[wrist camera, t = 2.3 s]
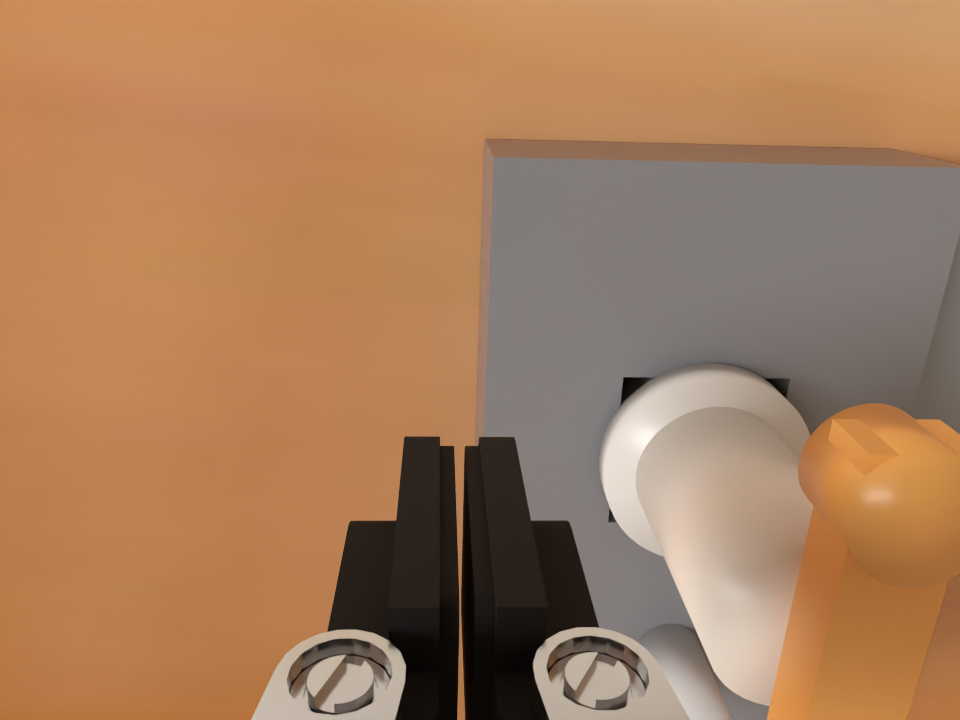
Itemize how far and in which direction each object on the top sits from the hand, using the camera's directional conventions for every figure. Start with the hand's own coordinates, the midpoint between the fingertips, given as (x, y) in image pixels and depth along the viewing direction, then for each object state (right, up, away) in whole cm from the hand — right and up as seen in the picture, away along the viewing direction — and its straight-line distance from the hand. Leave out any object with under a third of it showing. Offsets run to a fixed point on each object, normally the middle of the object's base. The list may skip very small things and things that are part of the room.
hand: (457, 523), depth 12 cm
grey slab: (+6, -1, +15) cm, 16 cm away
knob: (+6, +1, +14) cm, 15 cm away
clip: (+7, -3, +7) cm, 10 cm away
